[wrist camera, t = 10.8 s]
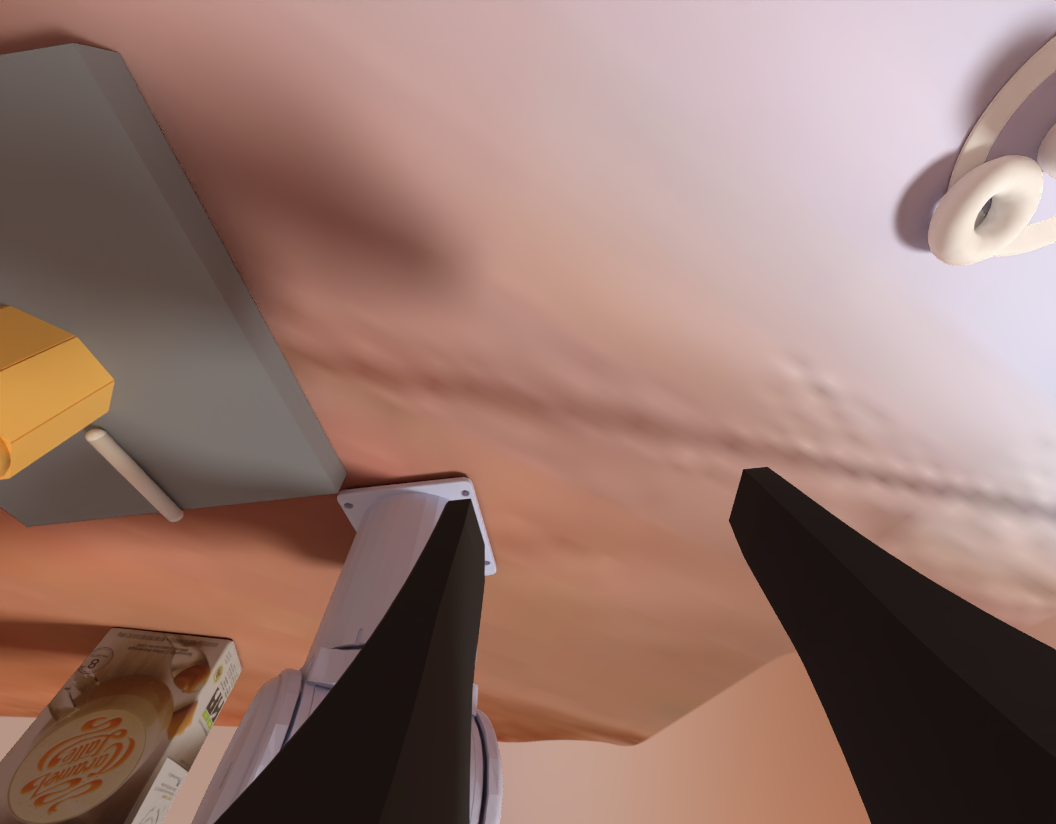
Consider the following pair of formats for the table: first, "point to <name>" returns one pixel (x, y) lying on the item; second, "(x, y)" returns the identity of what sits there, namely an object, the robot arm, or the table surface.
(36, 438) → the orange cap
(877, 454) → the table surface
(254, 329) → the board
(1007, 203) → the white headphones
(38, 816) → the coffee box
